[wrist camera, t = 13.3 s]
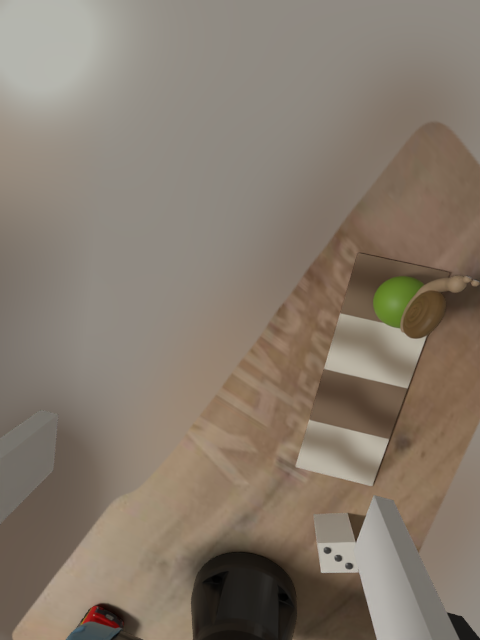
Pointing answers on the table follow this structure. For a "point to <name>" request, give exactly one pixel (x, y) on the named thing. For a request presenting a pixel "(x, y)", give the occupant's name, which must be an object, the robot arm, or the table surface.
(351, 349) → the game board
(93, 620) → the race car
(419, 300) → the snail figurine
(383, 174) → the table surface
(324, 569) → the die
